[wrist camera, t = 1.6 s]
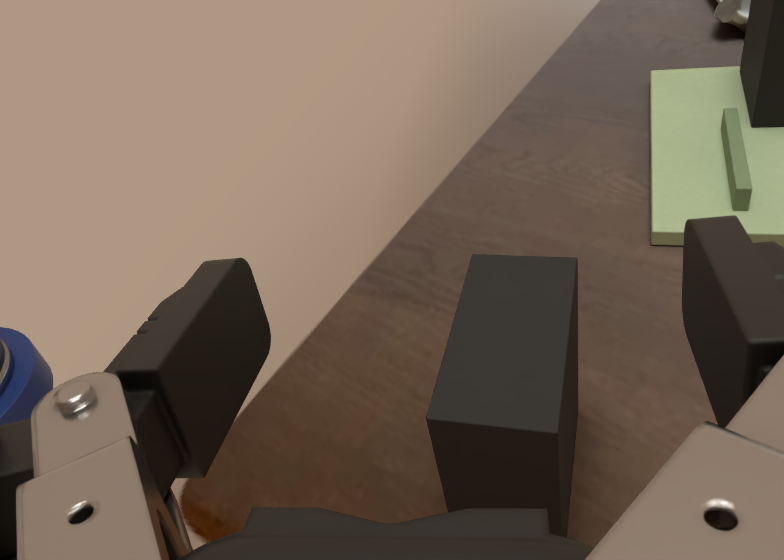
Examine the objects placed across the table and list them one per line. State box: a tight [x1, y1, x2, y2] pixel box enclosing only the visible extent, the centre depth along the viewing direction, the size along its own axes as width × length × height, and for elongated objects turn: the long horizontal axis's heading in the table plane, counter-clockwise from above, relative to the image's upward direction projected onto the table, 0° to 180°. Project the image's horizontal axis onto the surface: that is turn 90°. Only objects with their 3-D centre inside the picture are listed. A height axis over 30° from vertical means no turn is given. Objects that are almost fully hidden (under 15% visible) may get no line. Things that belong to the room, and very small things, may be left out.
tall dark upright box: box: [426, 254, 578, 537], centre depth 26 cm, size 4×8×9 cm, turn 165°
